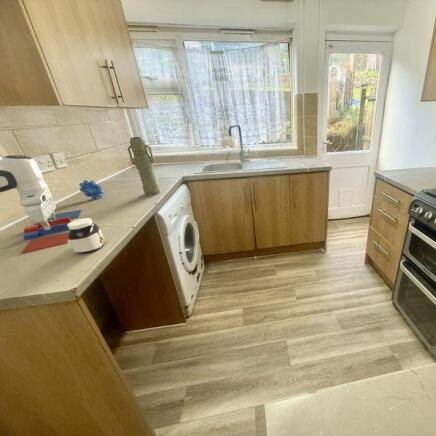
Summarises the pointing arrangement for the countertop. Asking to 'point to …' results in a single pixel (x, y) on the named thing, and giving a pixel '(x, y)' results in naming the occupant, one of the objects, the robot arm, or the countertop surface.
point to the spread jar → (85, 236)
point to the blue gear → (91, 189)
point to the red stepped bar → (57, 222)
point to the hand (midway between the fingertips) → (51, 225)
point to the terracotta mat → (46, 242)
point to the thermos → (144, 165)
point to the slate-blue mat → (67, 215)
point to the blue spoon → (46, 231)
